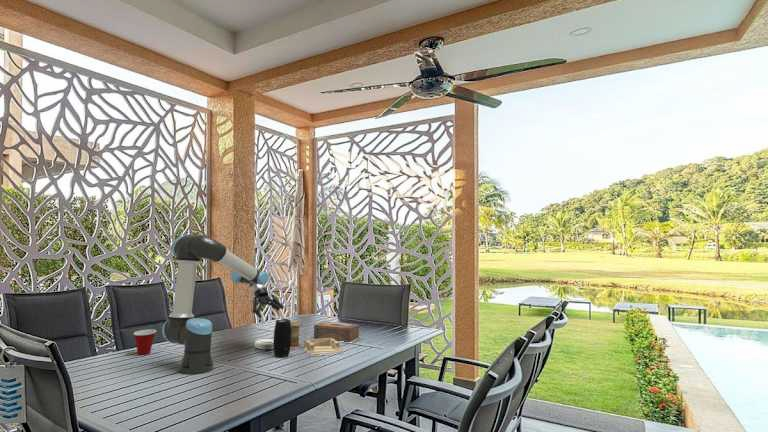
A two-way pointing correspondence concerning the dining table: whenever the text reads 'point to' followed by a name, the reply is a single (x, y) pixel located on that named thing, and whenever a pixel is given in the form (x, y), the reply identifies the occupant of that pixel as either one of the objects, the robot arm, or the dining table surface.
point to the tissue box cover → (336, 331)
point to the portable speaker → (282, 338)
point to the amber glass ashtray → (321, 346)
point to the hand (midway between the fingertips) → (274, 320)
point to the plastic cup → (144, 341)
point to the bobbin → (295, 335)
